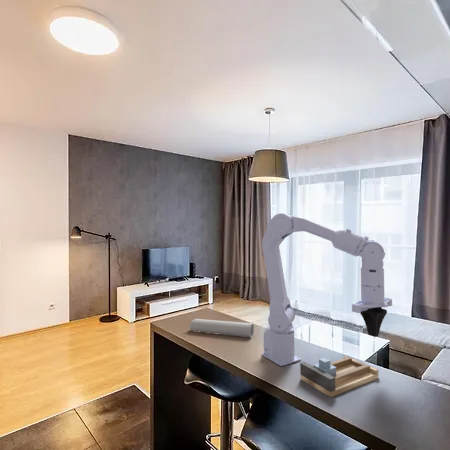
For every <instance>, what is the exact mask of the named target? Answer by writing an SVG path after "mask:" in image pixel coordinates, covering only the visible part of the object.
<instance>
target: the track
mask: <svg viewBox="0 0 450 450" xmlns="http://www.w3.org/2000/svg"><path fill="white" fill-rule="evenodd" d="M331 365H333V366H335V367H336V375H335V376H331V375H329V374H327V373H325V372H324V371H322V370H320V369H318V368H316V367H314V366H313V365H312V364H310V363H309V362H306V361H303V362H300V364H299V367H300V368H299V371H300V380H301V381H303V382H305V383H306V384H308V385H310V386H311V387H313V388H315V389H316V390H318V391H319V392H320V393H323V394H325V395H326V396H327V397H329V398H333V397H335V396H337V395H341V394H342V393H345V392H347V391H350V390H352V389H354V388H357V387H360V386H362V385H364V384H367V383H369V382H372V381H375V380H378V379H379V369H378V368H375V367H373V366H371V365H368V364H367V363H365V362H361V361H360V360H357V359H355V358H352V357H351V356H347V355H345V356H343V358H340V359H337V360H334V361H331Z"/></svg>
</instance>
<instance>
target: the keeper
mask: <svg viewBox="0 0 450 450" xmlns="http://www.w3.org/2000/svg"><path fill="white" fill-rule="evenodd" d="M331 362H332V360H330V359H328V358H326V357H321V358H318V363H315V364H313V365H312V366H314V367H316V368H318V369H320V370H322V371H324V372H325V373H327V374H329V375H331V376H335V375H336V367H335V366H333V365H331Z"/></svg>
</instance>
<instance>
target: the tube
mask: <svg viewBox="0 0 450 450" xmlns="http://www.w3.org/2000/svg"><path fill="white" fill-rule="evenodd" d="M254 328H255V326H254V322H241V321H240V322H239V321H228V320H215V319H206V318H205V319H204V318H195V319H193V320H190V323H189V330H190V331H192V332H193V331H200V332H210V333H219V334H226V335H225V336H228V335H232V336H231V337H237V336H241V337H240V338H246V337H248V339H252V338H253V337H252V336H254V331H255V329H254ZM200 332H199V333H200ZM251 337H252V338H251Z"/></svg>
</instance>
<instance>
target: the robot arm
mask: <svg viewBox="0 0 450 450" xmlns="http://www.w3.org/2000/svg"><path fill="white" fill-rule="evenodd" d="M297 232H298V233H299V232H306V233H309V234H310V235H313V236H317V237H319V238H322V239H325V240H327V241H330V242H331V244H332V246H333V248H334V249H337V250H339V251H341V252H345V253H347V254H348V255H351V256H354V257H360V258H361V266H360V300H359V301H357V302H355V303H352V304H351V311H352V312H353V313H357V314H360V315H361V317H362V319H363V321H364V324H365V328H366V331H367V334H368V336H370V337H374V338H376V337H379V335H380V334H379V333H380V330H381V326H382V323H383V321H384V319H385V317H386V316H387V315H388V310H387V309H385V308H388V307H391V306H392V307H393V298H389V297H385V269H384V258H385V257H386V252H385V250H384V249H385V248H384V247H383V246H382V245H381V244H380V243H379V242H377V241H375V240H373V239H370V240H369V237H368V236H367V235H366V236H361V235H359V234H356V233H353V232H352V230H351V229H350V228H346V229H344V228H341V229H338V230H333V229H331V228H328V227H327V226H323V225H321V224H319V223H316V222H314V221H311V220H310V219H307V218H304V217H300V216H294V215H291V214H286V213H276V214H275V215H274V216H273V217H272V218H271V219H270V220H269V221H268V222H267V227H266V230H265V232H264V236H263V237H262V240H261V247H262V251H263V252H262V253H263V257H264V258H263V259H264V264H265V265H264V266H265V272H266V277H267V284H268V285H267V286H268V290H269V296H270V301H269V308H268V309H269V315H268V319H267V322H268V326H267V327H266V328H265V330H264V332H263V352H262V353H261V356H263V357H265V358H266V359H267V360H270V361H272V362H273V363H274V364H276V365H277V366H280V367H282V366H286V365H289V364H293V363H297V362H300V361H301V360H302V359H301V358H300V357H298V356H297V355H295V354H296V353H295V328H294V326H293V322H294V320H295V319H296V317H295V316H296V312H295V310H294V308H293V307H292V305H291V300H290V298H289V296H288V292H287V288H286V281H285V273H284V269H283V262H282V257H281V251H280V245H281V244H282V243H283V242H284V240H285V239H286V238H287V237H289V236H291V235H292V234H293V233H297Z"/></svg>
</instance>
